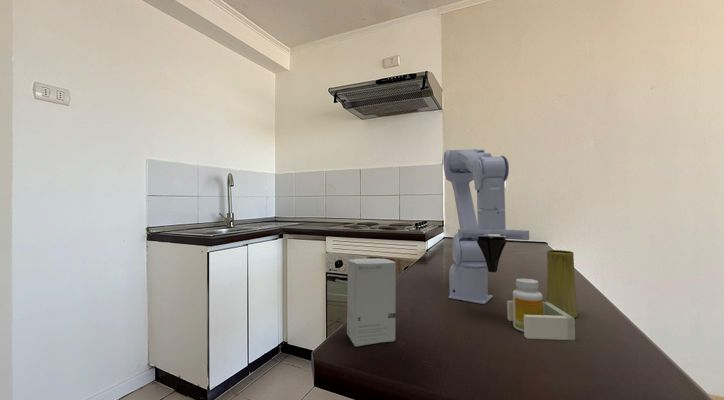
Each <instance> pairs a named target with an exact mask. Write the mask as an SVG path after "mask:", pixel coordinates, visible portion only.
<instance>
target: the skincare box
mask: <svg viewBox="0 0 724 400" xmlns="http://www.w3.org/2000/svg"><path fill="white" fill-rule="evenodd" d="M396 269H397V268H396V261H393V260H391V259H387V258H380V257H379V258H351V259H347V303H346V304H347V306H346V307H347V313H346V314H347V315H346V316H347V317H346V334H347V336H348V337H349V339H350V341H351V343H352V345H353V347H355V348H356V347H361V346H368V345H373V344H381V343H387V342H388V343H391V342H395V341H396V289H397V288H396V285H397V284H396V282H397V281H396V280H397V279H396V278H397V277H396V276H397V275H396V274H397V273H396Z"/></svg>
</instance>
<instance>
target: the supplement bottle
mask: <svg viewBox="0 0 724 400" xmlns="http://www.w3.org/2000/svg"><path fill="white" fill-rule="evenodd" d="M515 286H516V287H517V288H516V289H514V290H513V291H512V301H513V321H512V325H513V328H514V329H515V330H518V331H519V332H523V333H524V315H543V301H544V297H543V294H542V293H541V292H540V291H538V289H539V281H538V280H536V279H531V278H520V277H519V278H515Z"/></svg>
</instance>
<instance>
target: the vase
mask: <svg viewBox="0 0 724 400" xmlns="http://www.w3.org/2000/svg"><path fill="white" fill-rule="evenodd" d="M574 257H575V256H574V251H570V250H562V249H548V250H546V261H547V262H546V264H547V266H546V267H547V268H546V269H547V270H546V302H549V303H551V304H552V305H554V306H555V307H557V308H559V309H560V310H562V311H563V312H565V313H567V314H568V315H570V316H571V317H573V318H574V319H575V318H577V317H578V316H579V315H578V306H577V305H578V304H577V294H576V293H577V292H576V290H577V289H576V276H575V259H574Z"/></svg>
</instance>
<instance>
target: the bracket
mask: <svg viewBox="0 0 724 400" xmlns="http://www.w3.org/2000/svg"><path fill="white" fill-rule="evenodd" d="M506 305H507V306H506V307H507V308H506V309H507V310H506V311H507V318H506V319H507V320H508V321H509V322H513V300H506ZM575 324H576V322H575V318H573V317H571V316H570V315H568V314H567V313H565V312H563V311H562V310H560V309H559V308H557V307H555V306H554V305H552V304H551V303H549V302H547V301H544V300H543V315H524V332H523V336H524V337H525V338H526V339H529V340H530V339H531V340H557V341H558V340H560V341H561V340H562V341H576V328H575V326H576V325H575Z"/></svg>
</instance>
